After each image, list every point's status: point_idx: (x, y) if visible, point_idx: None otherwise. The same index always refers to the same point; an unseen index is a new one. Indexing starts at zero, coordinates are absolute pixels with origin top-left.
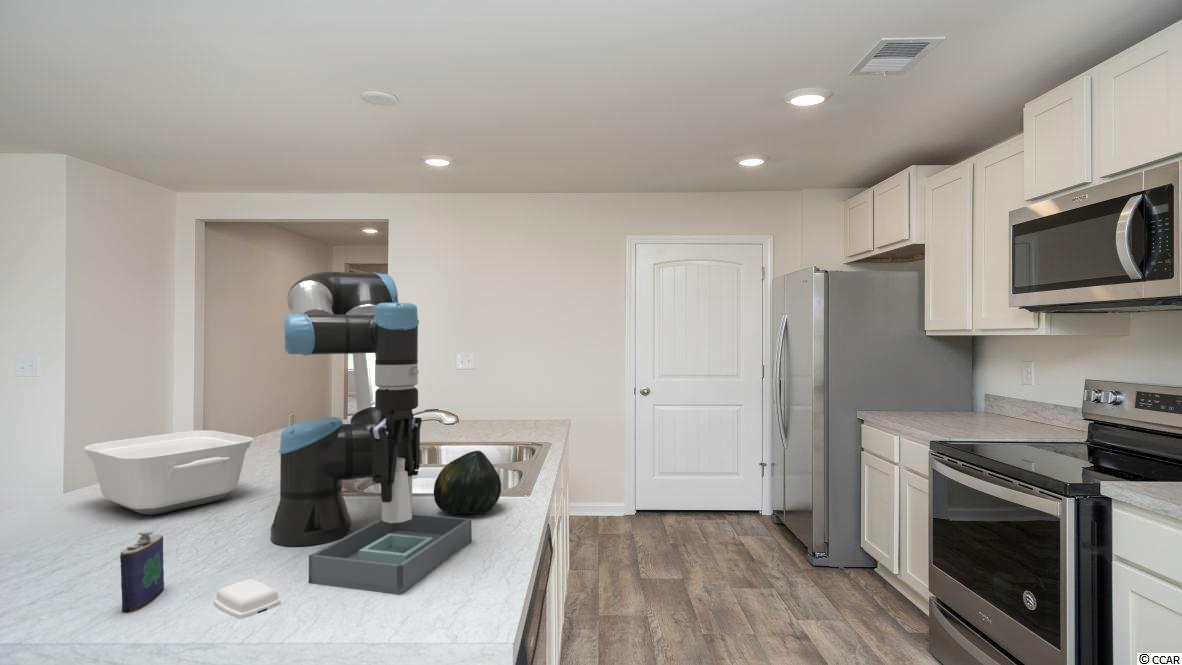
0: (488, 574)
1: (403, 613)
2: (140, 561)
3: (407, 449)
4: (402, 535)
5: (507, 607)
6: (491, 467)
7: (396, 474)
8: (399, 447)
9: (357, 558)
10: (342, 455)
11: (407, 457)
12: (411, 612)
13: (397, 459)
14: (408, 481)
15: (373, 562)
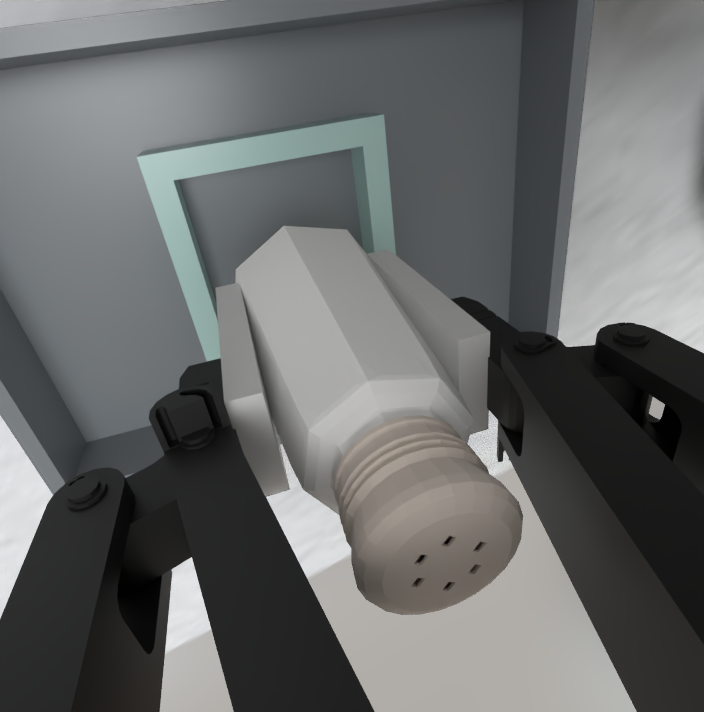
0: (316, 508)
1: (8, 524)
2: None
3: (610, 651)
4: (382, 196)
5: (193, 627)
6: None
7: (327, 504)
8: (646, 603)
9: (165, 113)
10: None
11: (561, 545)
12: (28, 532)
13: (415, 592)
14: None
15: (11, 414)
